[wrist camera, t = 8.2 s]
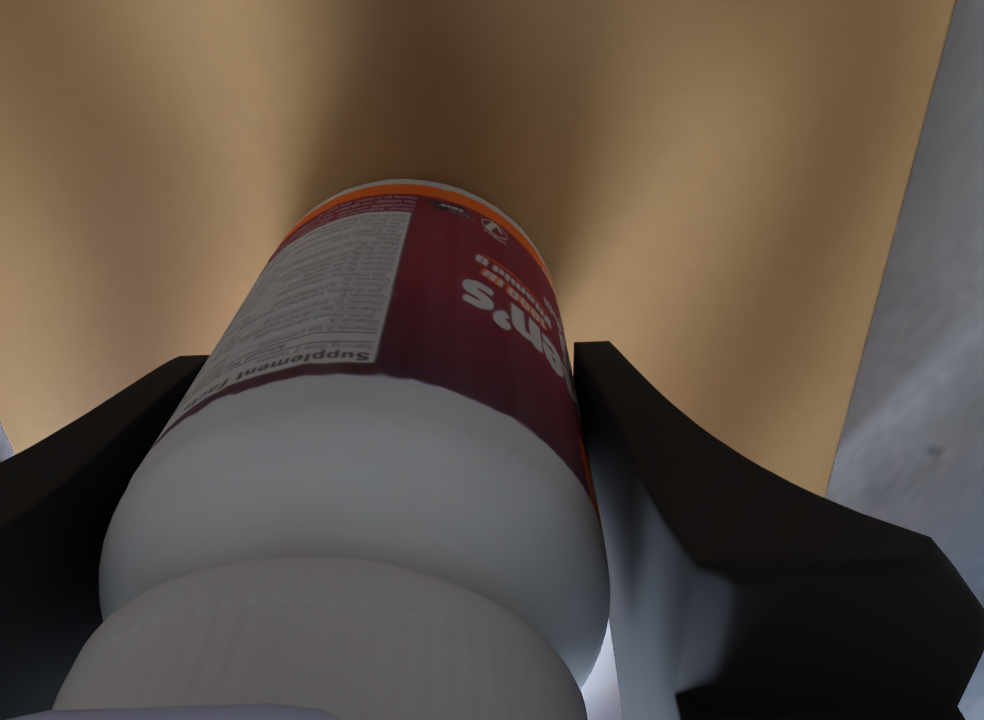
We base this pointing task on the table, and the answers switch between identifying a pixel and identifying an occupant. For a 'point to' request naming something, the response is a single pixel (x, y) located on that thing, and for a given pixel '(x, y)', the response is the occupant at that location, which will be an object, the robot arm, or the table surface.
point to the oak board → (470, 179)
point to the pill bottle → (367, 488)
